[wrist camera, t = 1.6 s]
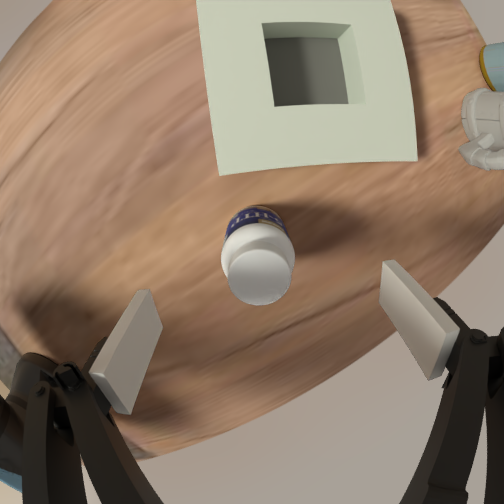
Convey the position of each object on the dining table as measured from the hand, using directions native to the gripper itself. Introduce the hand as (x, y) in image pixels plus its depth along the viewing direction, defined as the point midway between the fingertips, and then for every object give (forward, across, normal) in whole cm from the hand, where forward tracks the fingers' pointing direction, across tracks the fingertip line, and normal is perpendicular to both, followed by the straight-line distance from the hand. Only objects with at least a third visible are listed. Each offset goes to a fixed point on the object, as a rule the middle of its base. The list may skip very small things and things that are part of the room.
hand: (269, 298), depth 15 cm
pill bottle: (+12, 0, 0) cm, 12 cm away
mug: (+12, +25, +9) cm, 29 cm away
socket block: (+11, +6, +14) cm, 19 cm away
